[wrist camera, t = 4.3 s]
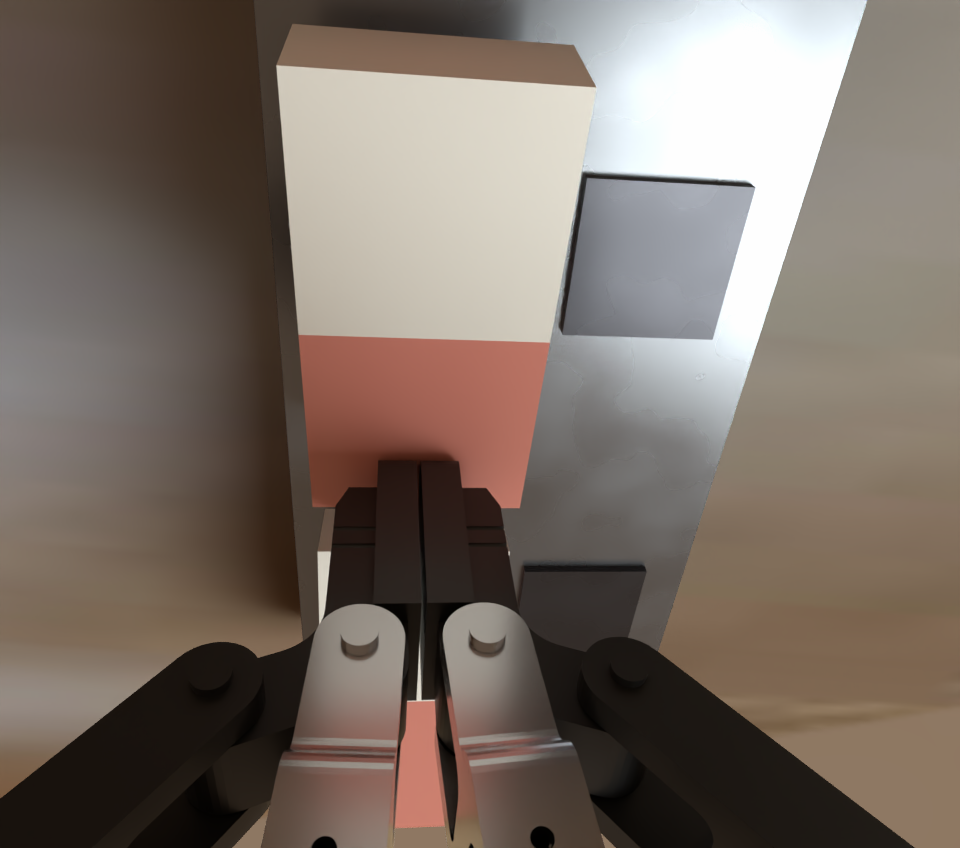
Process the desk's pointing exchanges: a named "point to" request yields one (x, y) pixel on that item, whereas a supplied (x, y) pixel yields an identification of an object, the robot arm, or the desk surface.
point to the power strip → (620, 276)
